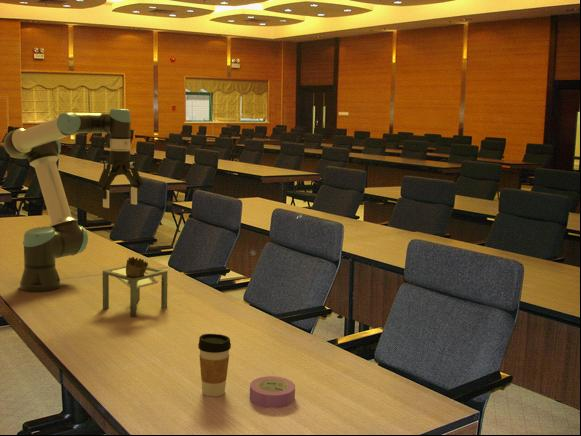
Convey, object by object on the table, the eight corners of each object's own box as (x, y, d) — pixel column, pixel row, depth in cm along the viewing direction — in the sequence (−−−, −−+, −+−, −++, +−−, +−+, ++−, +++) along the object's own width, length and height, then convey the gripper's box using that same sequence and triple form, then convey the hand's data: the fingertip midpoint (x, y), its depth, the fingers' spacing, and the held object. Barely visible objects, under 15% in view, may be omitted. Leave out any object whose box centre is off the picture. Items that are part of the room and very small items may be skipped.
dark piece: (138, 288, 237) (143, 268, 234) (118, 281, 237) (123, 261, 235) (146, 281, 244) (151, 261, 242) (127, 274, 244) (132, 254, 242)
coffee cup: (198, 385, 182) (199, 331, 179) (229, 385, 182) (231, 332, 180) (196, 398, 173) (197, 342, 171) (229, 398, 174) (231, 343, 172)
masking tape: (296, 409, 170) (297, 394, 170) (250, 408, 169) (250, 394, 169) (292, 389, 182) (293, 376, 181) (249, 389, 181) (249, 375, 180)
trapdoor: (110, 273, 243) (111, 271, 243) (136, 267, 253) (136, 265, 253) (132, 289, 238) (132, 287, 237) (157, 283, 247) (158, 280, 247)
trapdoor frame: (102, 308, 245) (102, 270, 243) (136, 299, 258) (137, 263, 256) (133, 317, 236) (133, 278, 234) (167, 307, 249) (167, 270, 247)
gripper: (100, 151, 243) (100, 210, 247) (151, 149, 264) (151, 203, 267) (86, 150, 248) (87, 207, 251) (138, 148, 268) (138, 201, 271)
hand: (120, 205), depth 259 cm, fingers open, 13 cm apart
